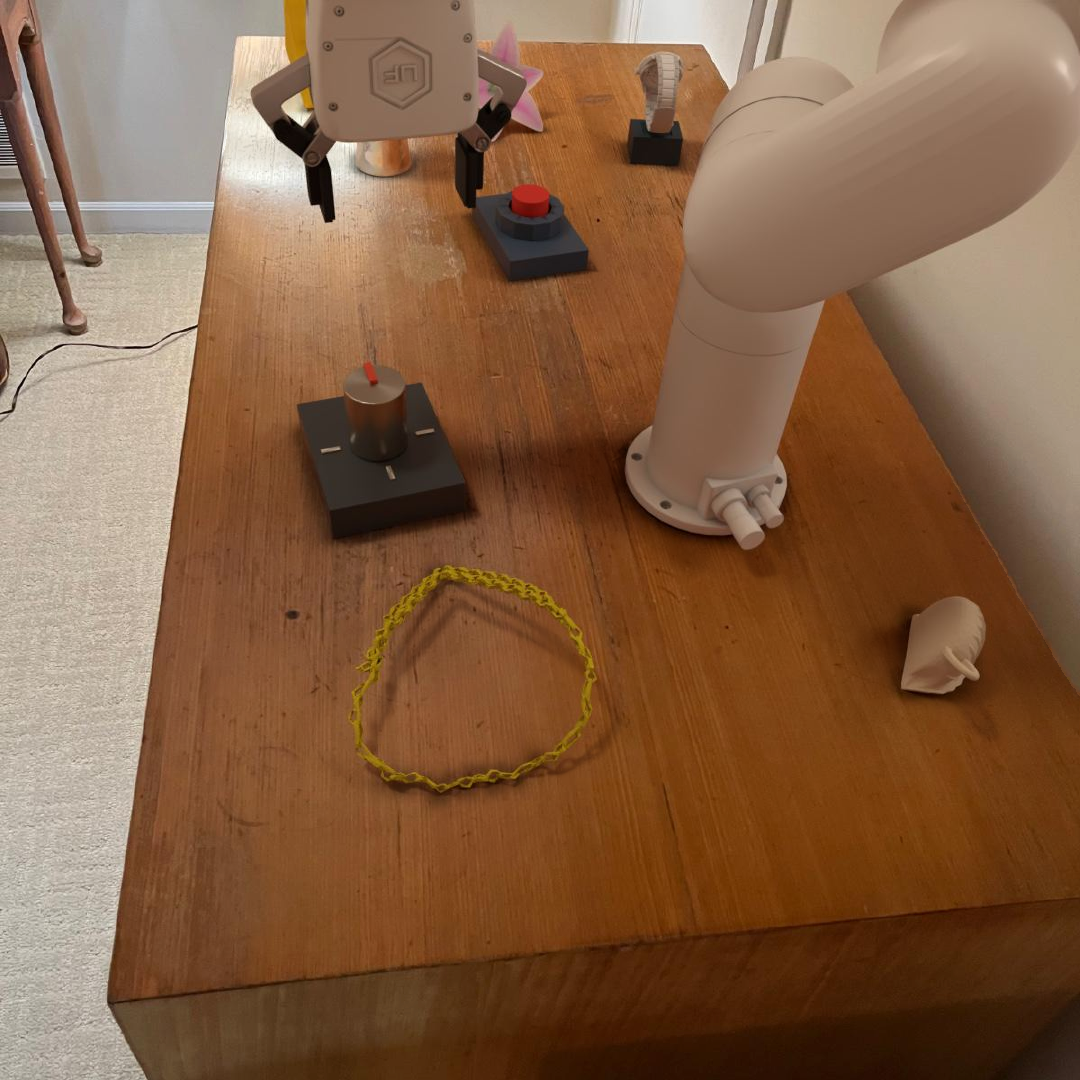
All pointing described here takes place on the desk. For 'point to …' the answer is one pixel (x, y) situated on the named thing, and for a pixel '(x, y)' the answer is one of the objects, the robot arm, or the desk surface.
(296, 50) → the yellow foil bag
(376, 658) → the decorative chain
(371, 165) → the beer glass
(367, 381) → the dial
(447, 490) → the panel
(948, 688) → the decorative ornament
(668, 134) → the watch
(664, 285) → the desk surface
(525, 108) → the lily
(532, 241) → the button block
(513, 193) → the button
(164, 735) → the desk surface
